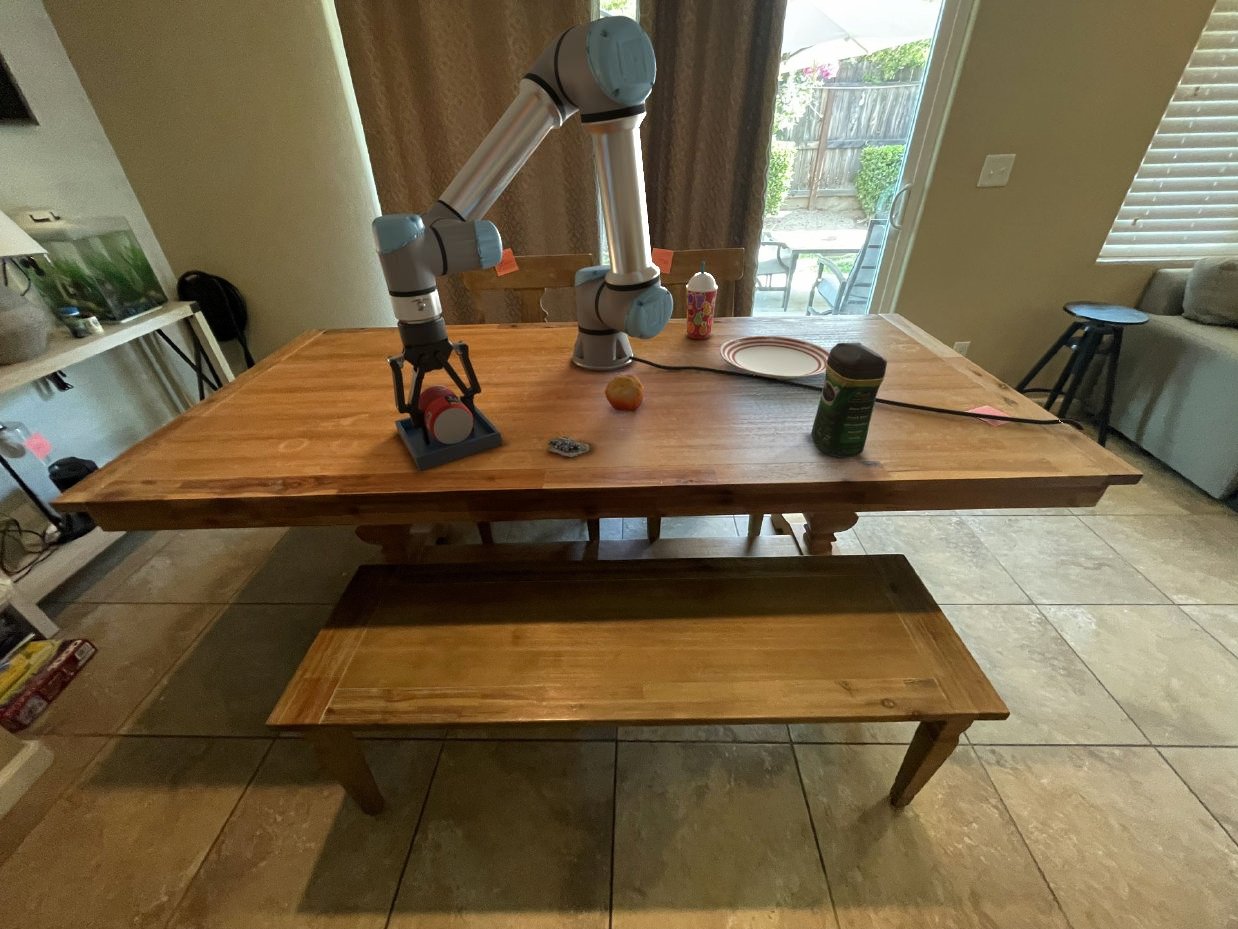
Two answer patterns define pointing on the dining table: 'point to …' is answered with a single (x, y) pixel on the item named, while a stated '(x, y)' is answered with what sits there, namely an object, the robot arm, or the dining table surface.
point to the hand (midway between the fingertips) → (448, 434)
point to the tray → (441, 453)
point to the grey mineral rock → (567, 447)
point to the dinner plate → (775, 356)
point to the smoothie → (700, 304)
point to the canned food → (445, 415)
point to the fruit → (625, 393)
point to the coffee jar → (847, 399)
